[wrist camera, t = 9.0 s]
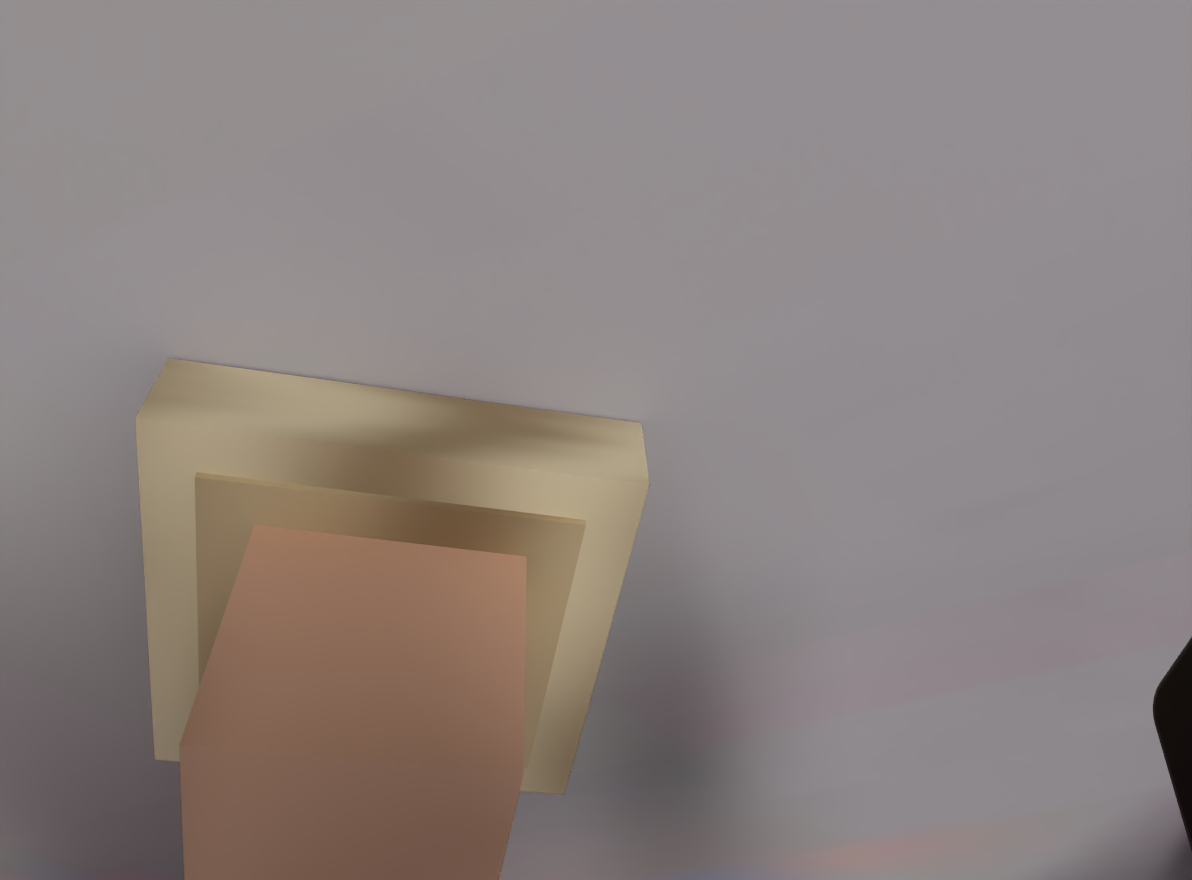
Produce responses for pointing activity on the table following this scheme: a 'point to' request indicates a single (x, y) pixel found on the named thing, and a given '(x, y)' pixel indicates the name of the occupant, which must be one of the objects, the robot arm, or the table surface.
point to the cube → (358, 714)
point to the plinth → (385, 516)
